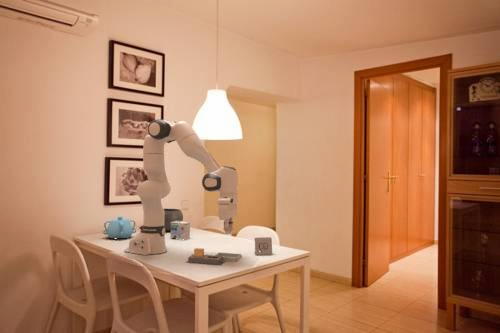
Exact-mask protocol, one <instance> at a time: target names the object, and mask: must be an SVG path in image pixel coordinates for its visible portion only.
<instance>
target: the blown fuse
mask: <svg viewBox="0 0 500 333" xmlns="http://www.w3.org/2000/svg"><path fill="white" fill-rule="evenodd" d="M223 231H224V234H225V235H232V234H233V231H234V221H232V222H231V221H229V227H225V222H224V221H223Z"/></svg>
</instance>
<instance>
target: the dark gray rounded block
mask: <svg viewBox="0 0 500 333" xmlns="http://www.w3.org/2000/svg"><path fill="white" fill-rule="evenodd" d="M163 209H164V211H165V217H164V225H165V232H171V222H174V221H184V214H183V212H182V210H181V209H179V208H163Z"/></svg>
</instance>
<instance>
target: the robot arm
mask: <svg viewBox="0 0 500 333" xmlns="http://www.w3.org/2000/svg"><path fill="white" fill-rule="evenodd" d="M147 132H148V134H146V136H145V137H144V138H143V139H144V140H143V146H142V147H143V149H142V157H143V160H142V161H143V170H144V172H145V174H146V176H147V177H146V178H147V180H144V181H142V182H141V183H139V184H138V186H137V188H136V193H137V196H138V197H139V199H140V201H141V202H140V203H141V206H142V211H143V224H142V225H141V226H139V228H138V230H140V231H139V232H138V233H137V234H136V235H135V236H133V237H132V238H131V239H130V240H129V243H128V247H126V248H125V249H124V253H128V252H129V253H128V254H136V255H143V256H148V255H156V254H162V253H165V252H167V251H168V250H167V249H168V248H167V245H166V238H165V237H166V236H165V234H166V231H165V225H164V217H165V211H164V209H165V208H164V207H163V205H162V199H164V198H166V197H167V196H168V195H170V193H171V190H172V188H171V184H170V182H169V181H168V177H167V173H166V169H165V168H166V167H165V145H166V144H170V143H172V142H176V143H177V145H178V147H179V148H180V150H181V151H182V152H183V154H184V155H185V156H186V157H189V158H191V159H194V160H197V161H198V163H199V162H200V163H201V165H203V167H204V168H205V169H206V170H207V172H208V173H206V174H205V175H204V176H203V177H202V180H201V185H202V187H203V189H204V190H205V191H207V192H211V193H212V192H219V197H218V198H217V201H216V202H217V204H218V207H217V208H218V211H217V212H218V218H219V219H218V220H223V223H224V222H225V227H229V221H231V222H233V218H234V217H235V216H237V214H238V202H239V200H238V199H239V198H238V194H239V193H238V183H239V182H238V179H239V178H238V177H239V176H238V171H237V169H236V168H235V167H234V166H226V165H222V166H221V167H220V166H219V164H218V163H217V162H216V160H215V159H214V158H213V155H211V153H210V152H209V151H208V149H207V148H206V147H205V145H204V144H203V142H202V140H201V139H200V137H199V136H198V133H197V132H196V131H195V129H194V128H193V127H192V126H191V125H190V123H188V121H185V120H180V121H178V122H176V121H172V120H169V119H162V118H161V119H159V118H157V119H153V120H151V122H149V124H148V126H147Z"/></svg>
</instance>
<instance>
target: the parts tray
mask: <svg viewBox="0 0 500 333" xmlns="http://www.w3.org/2000/svg"><path fill="white" fill-rule="evenodd" d="M214 256H223V261H226V262H232V263H233V262H235V263H236V262H238V261H239V260H240V259H242V257H243V256H242V254H241V253H233V252H217V253H216V254H214Z"/></svg>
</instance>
